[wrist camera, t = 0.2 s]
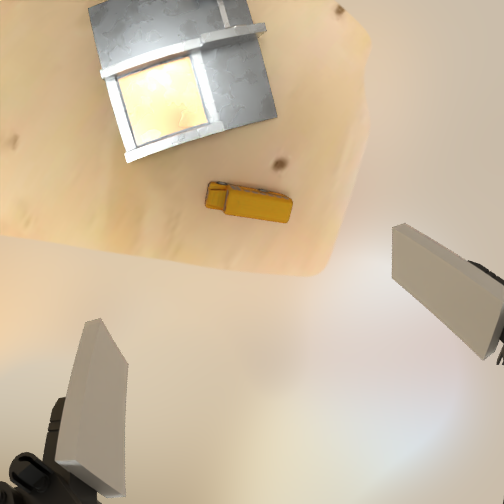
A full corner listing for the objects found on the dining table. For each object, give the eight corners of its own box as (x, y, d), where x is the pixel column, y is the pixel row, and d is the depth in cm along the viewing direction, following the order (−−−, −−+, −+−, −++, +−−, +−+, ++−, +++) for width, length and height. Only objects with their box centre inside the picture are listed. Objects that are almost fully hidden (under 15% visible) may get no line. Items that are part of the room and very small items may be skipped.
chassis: (90, 12, 25) (78, -4, 19) (234, -26, 26) (245, -47, 21) (131, 160, 34) (123, 168, 28) (273, 116, 36) (291, 117, 30)
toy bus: (208, 179, 37) (212, 186, 34) (283, 192, 40) (294, 200, 37) (203, 204, 38) (206, 214, 35) (277, 216, 41) (287, 225, 38)
